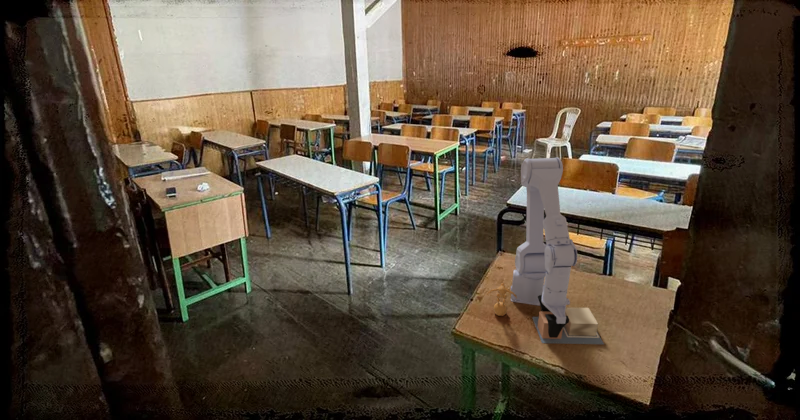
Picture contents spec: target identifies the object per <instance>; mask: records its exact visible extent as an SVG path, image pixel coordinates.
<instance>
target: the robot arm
mask: <svg viewBox="0 0 800 420" xmlns="http://www.w3.org/2000/svg"><path fill="white" fill-rule="evenodd" d="M563 171H564V166H563V162H562V160H561V158H560V157H556V156H555V157H545V158H544V157H540V158H528V157H526V158H524V160H523V161H522V163H521V165H520V182H521V183H520V184H521V186H522V187H525V188H526V225H525V229H526V234H525V236H526V238H525V239H526V241H525V242H523V243H522V244H520V245H519V246H517V248H516V251H515V253H516V254H515V258H514V264H515V269H513V274H512V281H511V285H510V289H509V290H510V291H512V292H513V293H514V294H515V295H516V296H517V298H516V297H515V296H514V295H513V294H511V293H510V302H514V303H520V304H527V305H531V306H538V307H540V311H543V312H552V313H553V314H545V316H546V319H547V321H548V334H549V337H550V338H557V337H558V335H559V334H560V332H561V330H562V328H563V327H564V326H565V325H566V324H567V323H569V318H568V316H565V310H566V307H567V305H568V306H569V305H570V304H571V301H570V299H569V298H567V295H568V288H569V284H570V277H571V272H572V271H571V269H572V266H573V267H575V265H577V262H578V250H577V247H576V244H575V243H574V242H573V241H574V240H573V239H571V237H570V234H569V233H570V232H569V227H568V223H567V218H566V217H565V215H562V214H561V204H560V195H559V183H560V182H561V179H562V177H563V173H564V172H563ZM544 237H545V242H546V243H544Z"/></svg>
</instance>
